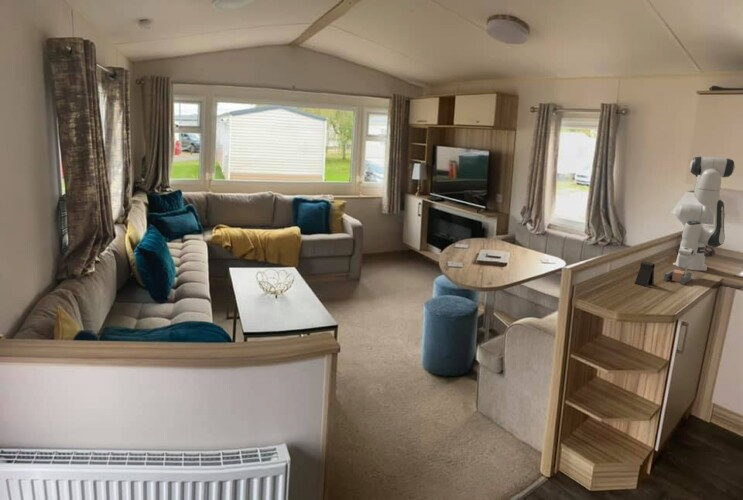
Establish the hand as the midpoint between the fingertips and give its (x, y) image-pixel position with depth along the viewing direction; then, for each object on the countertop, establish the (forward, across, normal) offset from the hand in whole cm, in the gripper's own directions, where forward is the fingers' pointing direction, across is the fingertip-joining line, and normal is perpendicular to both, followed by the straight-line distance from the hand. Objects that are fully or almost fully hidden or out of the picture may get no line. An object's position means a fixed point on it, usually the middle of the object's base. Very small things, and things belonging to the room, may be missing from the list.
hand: (683, 273), depth 320 cm
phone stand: (+3, +36, -11) cm, 38 cm away
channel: (+3, +10, -1) cm, 11 cm away
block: (+3, +9, -1) cm, 10 cm away
